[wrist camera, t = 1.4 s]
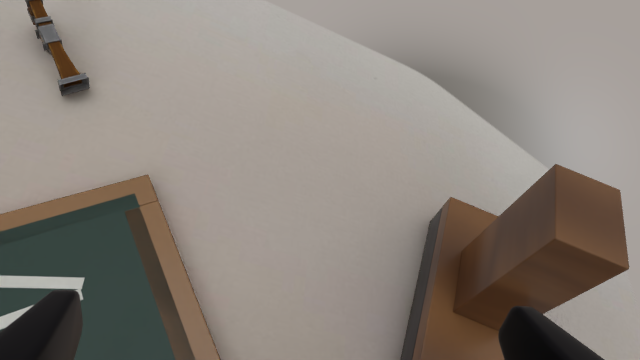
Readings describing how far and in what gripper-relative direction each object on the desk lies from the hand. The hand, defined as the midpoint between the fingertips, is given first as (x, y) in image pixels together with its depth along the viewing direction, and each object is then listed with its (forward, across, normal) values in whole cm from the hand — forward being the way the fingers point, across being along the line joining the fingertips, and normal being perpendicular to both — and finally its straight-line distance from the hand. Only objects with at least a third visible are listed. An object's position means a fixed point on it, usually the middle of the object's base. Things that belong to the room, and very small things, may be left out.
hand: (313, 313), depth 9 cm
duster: (+12, -12, +12) cm, 21 cm away
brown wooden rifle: (+27, +15, +5) cm, 31 cm away
